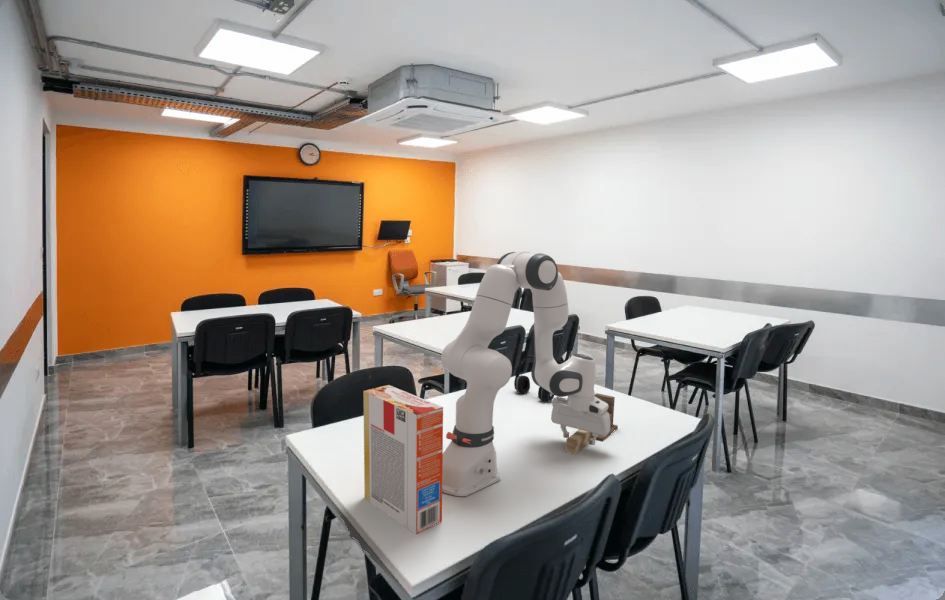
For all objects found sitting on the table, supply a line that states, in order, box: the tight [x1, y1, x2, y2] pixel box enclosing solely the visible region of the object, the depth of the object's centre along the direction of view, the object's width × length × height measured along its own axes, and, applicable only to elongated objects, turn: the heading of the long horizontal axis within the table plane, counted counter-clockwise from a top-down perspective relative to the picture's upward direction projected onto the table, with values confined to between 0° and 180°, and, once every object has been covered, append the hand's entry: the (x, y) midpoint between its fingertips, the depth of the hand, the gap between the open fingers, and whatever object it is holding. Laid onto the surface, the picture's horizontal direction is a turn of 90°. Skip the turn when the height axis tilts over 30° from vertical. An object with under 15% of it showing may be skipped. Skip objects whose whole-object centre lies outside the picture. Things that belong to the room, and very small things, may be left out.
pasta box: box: [362, 384, 444, 535], centre depth 134 cm, size 23×8×30 cm, turn 44°
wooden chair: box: [575, 392, 619, 442], centre depth 189 cm, size 15×10×12 cm, turn 145°
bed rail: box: [565, 429, 592, 455], centre depth 177 cm, size 15×3×5 cm, turn 145°
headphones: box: [513, 354, 555, 402], centre depth 226 cm, size 20×7×18 cm, turn 42°
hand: (578, 440), depth 177 cm, fingers open, 8 cm apart
